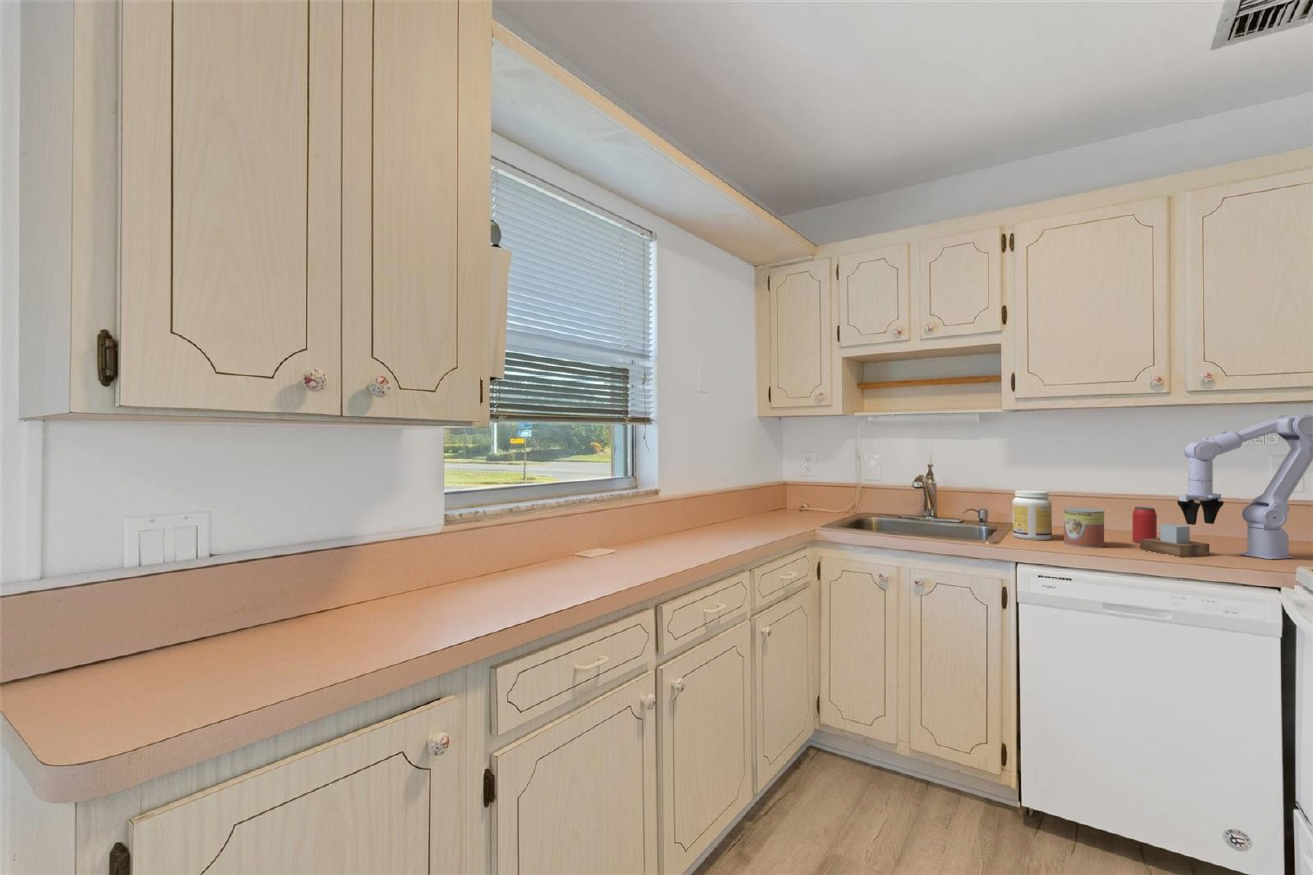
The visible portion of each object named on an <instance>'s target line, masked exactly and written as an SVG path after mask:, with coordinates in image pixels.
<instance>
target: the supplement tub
mask: <svg viewBox="0 0 1313 875" xmlns="http://www.w3.org/2000/svg"><path fill="white" fill-rule="evenodd" d="M1014 496H1015V497H1014V498H1013V500H1012V501H1011V502H1012V503H1011V504H1012V515H1011V517H1012V536H1013V537H1015V538H1016V539H1021V540H1028V541H1030V540H1031V541H1048V540H1051V538H1052V537H1053V534H1052V532H1053V527H1052V525H1053V524H1052V523H1053V522H1052V520H1053V515H1052V514H1053V512H1052V511H1053V510H1052V508H1053V507H1052V506H1053V504H1052V501H1051V500H1050V499H1049V497H1050V495H1049V491H1048V490H1047V491H1046V490H1032V489H1030V490H1029V489H1018V490H1017V489H1016V490H1015V491H1014Z"/></svg>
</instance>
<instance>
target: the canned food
mask: <svg viewBox="0 0 1313 875" xmlns="http://www.w3.org/2000/svg"><path fill="white" fill-rule="evenodd" d="M1063 545H1065V546H1070V547H1076V548H1085V549H1102V548H1105V510H1104V509H1099V508H1089V507H1064V508H1063Z"/></svg>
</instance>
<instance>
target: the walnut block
mask: <svg viewBox="0 0 1313 875" xmlns="http://www.w3.org/2000/svg"><path fill="white" fill-rule="evenodd" d="M1140 549H1142V550H1146V551H1145V552H1148V551H1151V552H1150V553H1153V552H1156V553H1155V554H1159V553H1160V554H1161V555H1164V554H1169V555H1168V556H1170V555H1174V556H1173V557H1176V556H1177V558H1187V557H1189V558H1190V557H1191V556H1192V557H1199V556H1198V555H1206V556H1210V543H1207V542H1206V543H1205V542H1200V541H1193V540H1190V543H1172V542H1166V541H1160V537H1157V538H1153V539H1140V543H1139V550H1140ZM1142 550H1141V551H1142Z"/></svg>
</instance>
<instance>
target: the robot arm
mask: <svg viewBox="0 0 1313 875" xmlns="http://www.w3.org/2000/svg"><path fill="white" fill-rule="evenodd" d="M1270 434H1277V435H1278V436H1279V437H1281V438H1282V439H1283V440H1284V441H1285V442H1286V443H1287V444H1288V446H1289V447H1290V448H1289V449H1290V450H1289V451H1288V453H1287V455H1286V456H1285V457H1284V459H1283V461H1282V462H1281V464H1280V465H1279V467H1278V469H1277V471H1276V472H1275V474H1274V476H1273V477H1272V478H1271V480H1270V481H1269V483H1268V485H1267V486H1266V488H1265V490H1264V491H1263V493H1262V494H1260V495H1258V496H1257V497H1255V498H1254V499H1253V500H1252V501H1251V503H1249V504H1247V505H1245V506H1244V508H1243V509H1242V511H1241V512H1242V513H1241V516H1242V518H1243V520H1244V521H1245V522H1246V526H1247V530H1246V531H1247V535H1246V537H1247V538H1246V540H1247V542H1246V543H1247V546H1246V547H1247V552H1239V555H1240V554H1241V556H1247V557H1254V558H1258V559H1259V558H1260V559H1267V560H1280V559H1292V558H1293V556H1291V555H1290V554H1289V552H1290V551H1289V550H1290V549H1289V546H1290V544H1289V543H1290V542H1289V541H1290V540H1289V539H1290V538H1289V534H1288V533H1287V531H1286V530H1284V529H1283V528H1282V527H1283V526H1284V525H1285V524H1286V522H1287V519H1288V512H1289V511H1290V506H1289V505H1288V503H1287V502H1288V499H1289V498H1290V497H1291V495H1292V494H1293V493H1294V490H1296V487H1297V486H1298V484H1299V483H1300V482H1301V479H1302V477H1303V476H1304V475H1305V474H1306V471H1307V469H1308V468H1309V466H1311V463H1313V415H1312V414H1307V413H1306V414H1301V415H1300V414H1297V415H1296V414H1294V415H1289V414H1288V415H1285V414H1284V415H1280V416H1278V417H1273V418H1270V419H1268V420H1264V421H1262V422H1259V423H1257V424H1254V425H1252V426H1249V427H1247V428H1244V429H1242V430H1239V431H1238V432H1237V431H1236V432H1235V431H1232V430H1228V431H1227V430H1221V431H1219V432H1218V434H1216V435H1213V436H1211V437H1203V438H1202V439H1201V441H1191V442H1189V443H1188V444H1187V445H1186V447H1185V449H1183V454H1184V457H1186V458H1187V462H1188V463H1187V481H1188V482H1187V484H1188V485H1187V490H1188V491H1187V492H1188V493H1184V494H1179V496H1178V497H1179V500H1177V501H1176V503H1177V505H1178V506H1179V508H1180V509H1181V512H1182V513H1183V517H1184V519H1185V522H1186V524H1187V525H1192V526H1196V524H1197V520H1198V512H1199V509H1200V507H1201V508H1202V513H1203V520H1204V524H1209V525H1210V524H1211V525H1213V524H1214V525H1215V521H1216V518H1217V515H1218V513H1219V512H1220V510H1221V508H1222V507H1223V505H1224V503H1225V502H1224V500H1223V501H1221V500H1222V494H1221V493H1213V489H1214V488H1213V486H1214V485H1213V484H1214V483H1213V480H1214V479H1213V477H1214V473H1213V472H1214V471H1213V470H1214V466H1213V464H1214V459H1216V458H1217V457H1218V456H1219V455H1223V454H1225V453H1228V452H1232V451H1233V450H1236V449H1239V448H1241V447H1242V445H1243V443H1245V442H1248V441H1250V440H1255V439H1256V438H1259V437H1263V436H1266V435H1270ZM1198 501H1199V502H1198Z"/></svg>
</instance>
